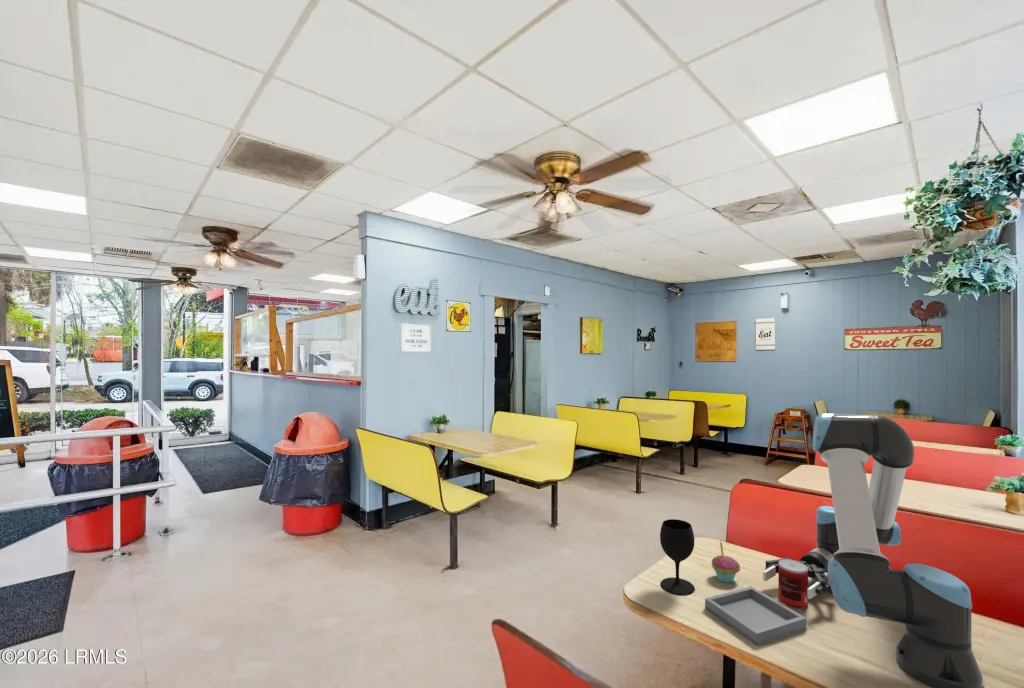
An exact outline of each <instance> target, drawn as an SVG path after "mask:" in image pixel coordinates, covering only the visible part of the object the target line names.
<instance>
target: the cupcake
mask: <svg viewBox="0 0 1024 688" xmlns="http://www.w3.org/2000/svg"><path fill="white" fill-rule="evenodd" d="M719 545H720V555H717V556H715V557H713V558H712V560H711V567H712V569H713V570H714V571H715V574H716V577H717V579H718V580H719V581H721V582H724V583H732V582H733V581H734V580H735V577H736V574H737V573H739V572H740V570H741V565H740V563H739V562H738V561H737V560H735V558H734V557H731V556H728V555H724V554H725V553H724V547H723V542H722V541H721V540H720V542H719Z"/></svg>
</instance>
